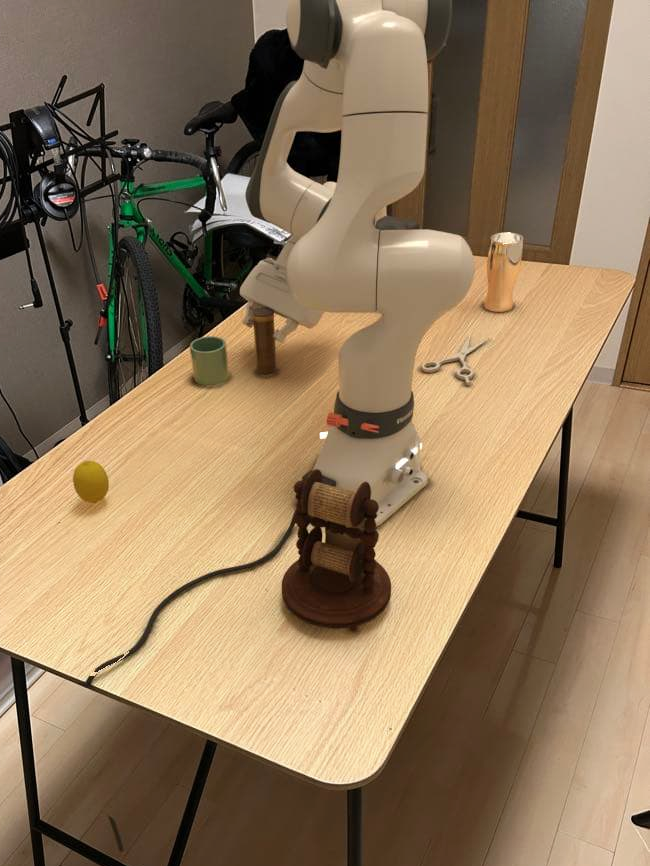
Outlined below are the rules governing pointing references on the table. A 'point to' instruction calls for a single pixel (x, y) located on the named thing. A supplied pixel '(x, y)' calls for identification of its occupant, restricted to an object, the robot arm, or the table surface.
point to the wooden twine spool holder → (335, 557)
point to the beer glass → (502, 270)
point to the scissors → (458, 356)
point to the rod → (264, 340)
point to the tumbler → (209, 360)
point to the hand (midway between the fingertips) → (261, 333)
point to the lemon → (90, 481)
